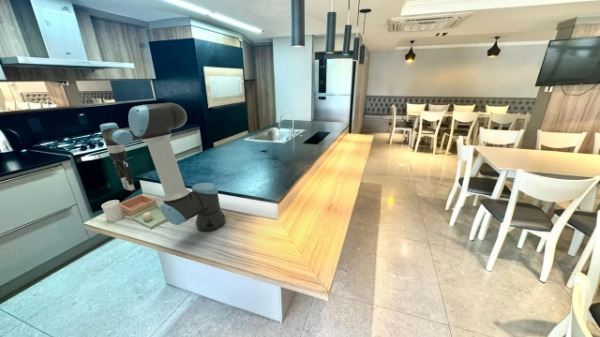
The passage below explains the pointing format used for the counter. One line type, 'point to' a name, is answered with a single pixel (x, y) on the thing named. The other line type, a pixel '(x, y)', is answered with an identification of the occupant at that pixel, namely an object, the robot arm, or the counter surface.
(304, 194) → the counter surface
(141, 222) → the parts tray
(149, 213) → the sand pebble
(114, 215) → the white cup
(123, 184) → the slate pebble
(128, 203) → the terracotta dish
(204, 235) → the counter surface
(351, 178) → the counter surface
